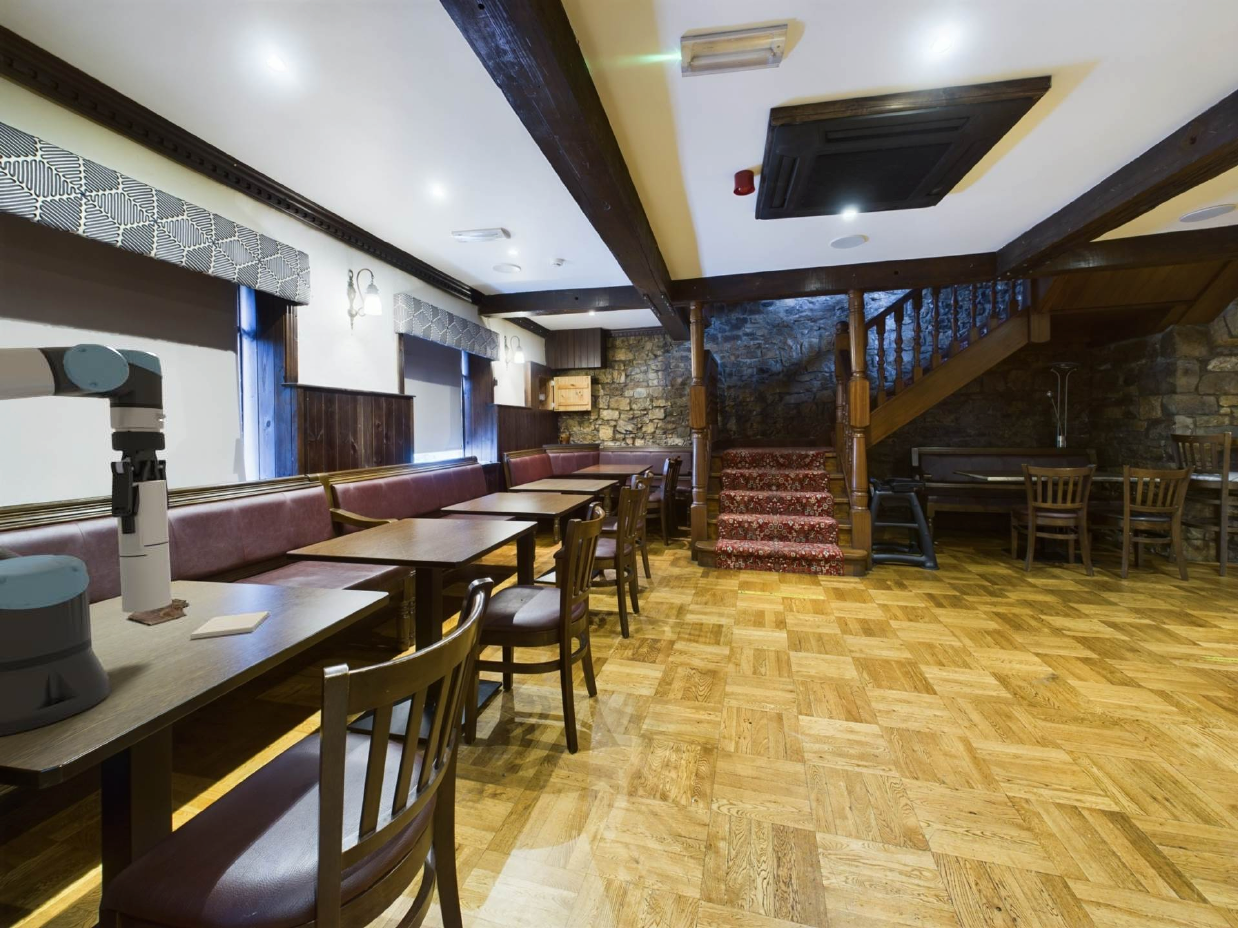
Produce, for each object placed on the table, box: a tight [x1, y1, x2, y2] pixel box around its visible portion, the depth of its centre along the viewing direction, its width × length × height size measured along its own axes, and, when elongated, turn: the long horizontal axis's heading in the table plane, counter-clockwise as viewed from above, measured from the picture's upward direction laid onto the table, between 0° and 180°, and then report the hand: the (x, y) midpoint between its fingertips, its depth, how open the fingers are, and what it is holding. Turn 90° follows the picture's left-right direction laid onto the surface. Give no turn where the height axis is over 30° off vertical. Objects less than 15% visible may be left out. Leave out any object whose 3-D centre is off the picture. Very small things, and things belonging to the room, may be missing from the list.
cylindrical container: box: [116, 480, 173, 614], centre depth 98 cm, size 7×7×25 cm
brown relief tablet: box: [127, 598, 190, 627], centre depth 123 cm, size 26×11×1 cm, turn 38°
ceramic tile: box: [190, 610, 270, 640], centre depth 112 cm, size 11×11×1 cm
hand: (144, 546), depth 98 cm, fingers closed on cylindrical container, 7 cm apart
